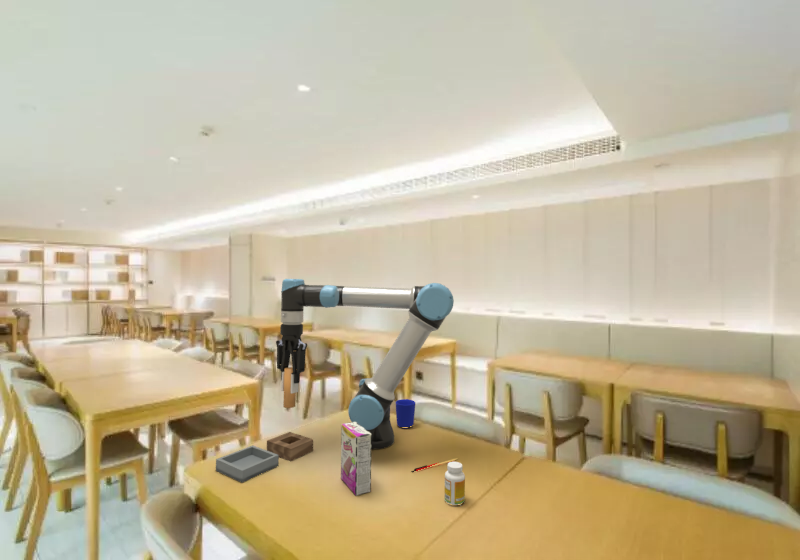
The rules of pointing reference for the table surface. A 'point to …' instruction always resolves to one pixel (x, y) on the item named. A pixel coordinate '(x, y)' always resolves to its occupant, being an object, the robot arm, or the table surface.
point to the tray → (246, 463)
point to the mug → (405, 412)
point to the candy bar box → (356, 457)
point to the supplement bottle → (454, 484)
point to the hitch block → (290, 446)
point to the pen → (422, 467)
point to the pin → (288, 389)
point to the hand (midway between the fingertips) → (289, 391)
